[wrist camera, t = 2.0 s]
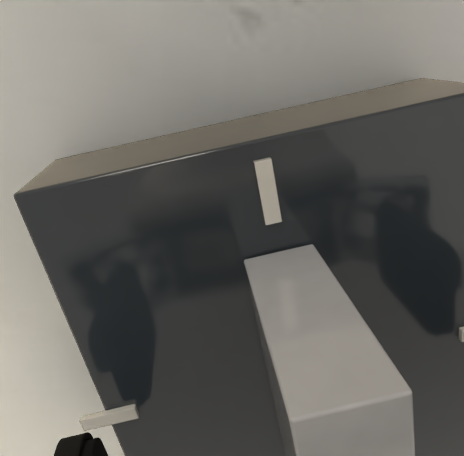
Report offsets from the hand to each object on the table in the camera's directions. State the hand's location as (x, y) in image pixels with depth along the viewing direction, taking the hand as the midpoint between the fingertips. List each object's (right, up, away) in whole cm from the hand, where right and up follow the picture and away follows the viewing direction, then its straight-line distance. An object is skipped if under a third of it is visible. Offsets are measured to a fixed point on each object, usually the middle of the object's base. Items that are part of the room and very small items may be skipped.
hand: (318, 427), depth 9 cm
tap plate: (-1, +2, +4) cm, 5 cm away
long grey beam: (0, +1, +1) cm, 2 cm away
